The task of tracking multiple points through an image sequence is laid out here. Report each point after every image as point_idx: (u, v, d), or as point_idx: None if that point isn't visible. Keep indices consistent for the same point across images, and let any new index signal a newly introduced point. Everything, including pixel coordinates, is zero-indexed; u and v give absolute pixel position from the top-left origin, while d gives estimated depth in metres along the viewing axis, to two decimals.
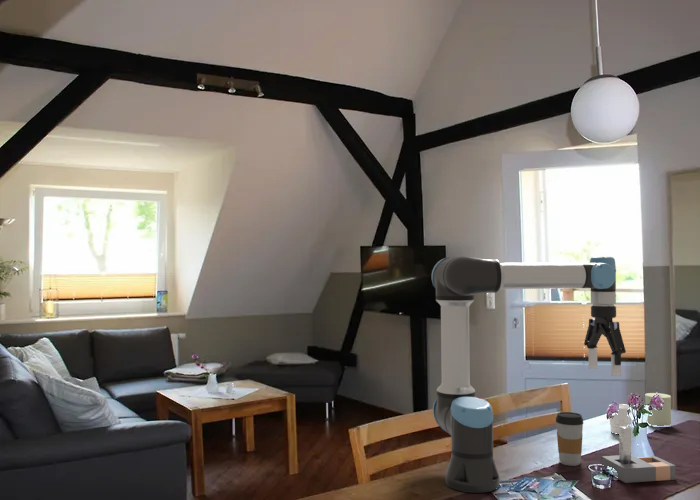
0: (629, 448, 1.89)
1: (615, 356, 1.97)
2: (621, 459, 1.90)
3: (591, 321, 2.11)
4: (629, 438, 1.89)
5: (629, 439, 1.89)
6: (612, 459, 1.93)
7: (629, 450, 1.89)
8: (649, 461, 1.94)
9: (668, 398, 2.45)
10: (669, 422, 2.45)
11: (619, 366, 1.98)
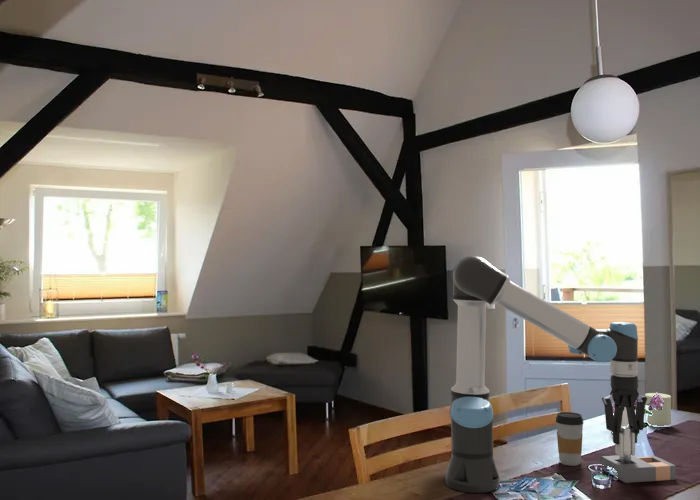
0: (629, 448, 1.89)
1: None
2: (621, 459, 1.90)
3: None
4: (629, 438, 1.89)
5: (629, 439, 1.89)
6: (612, 459, 1.93)
7: (629, 450, 1.89)
8: (649, 461, 1.94)
9: (668, 398, 2.45)
10: (669, 422, 2.45)
11: (619, 446, 1.89)
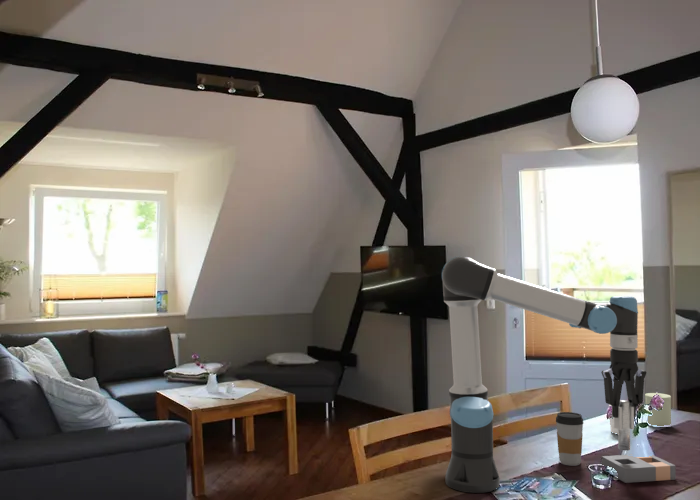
0: (628, 422, 1.89)
1: None
2: (620, 433, 1.90)
3: None
4: (628, 412, 1.89)
5: (628, 413, 1.89)
6: (612, 459, 1.93)
7: (628, 424, 1.89)
8: (649, 461, 1.94)
9: (668, 398, 2.45)
10: (669, 422, 2.45)
11: (618, 419, 1.89)
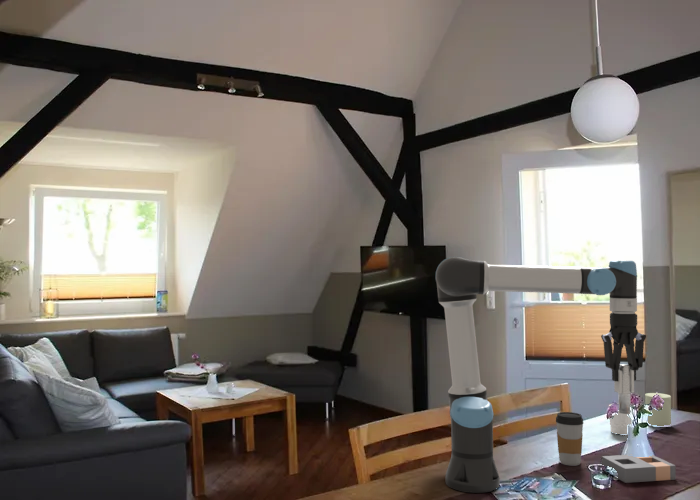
0: (628, 385, 1.89)
1: None
2: (620, 396, 1.90)
3: None
4: (628, 375, 1.89)
5: (628, 376, 1.89)
6: (612, 459, 1.93)
7: (628, 387, 1.89)
8: (649, 461, 1.94)
9: (668, 398, 2.45)
10: (669, 422, 2.45)
11: (618, 383, 1.89)
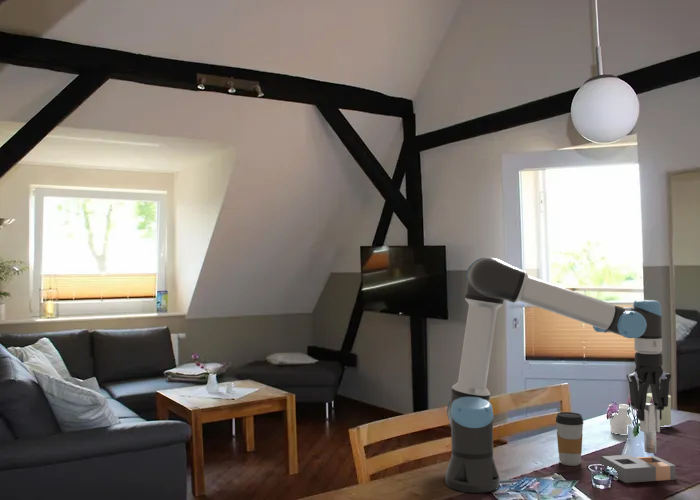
0: (654, 424, 1.90)
1: None
2: (646, 435, 1.91)
3: None
4: (654, 415, 1.90)
5: (654, 415, 1.90)
6: (612, 459, 1.93)
7: (654, 426, 1.90)
8: (649, 461, 1.94)
9: (668, 398, 2.45)
10: (669, 422, 2.45)
11: (644, 422, 1.90)
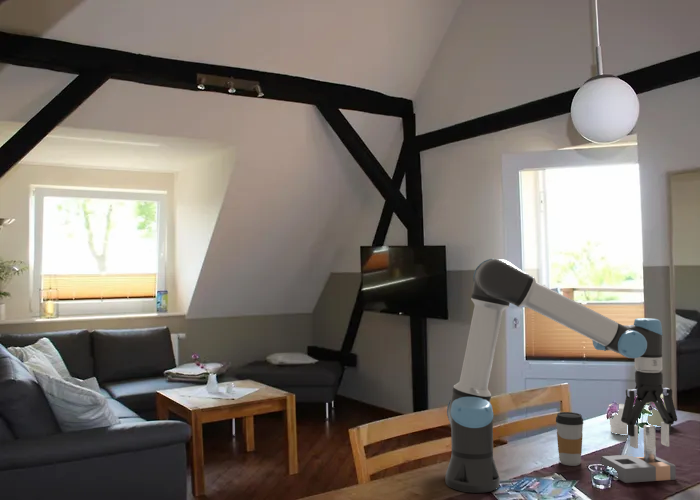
0: (654, 447, 1.90)
1: None
2: (646, 458, 1.91)
3: None
4: (654, 437, 1.90)
5: (654, 438, 1.90)
6: (612, 459, 1.93)
7: (654, 449, 1.90)
8: None
9: None
10: None
11: (634, 438, 1.90)
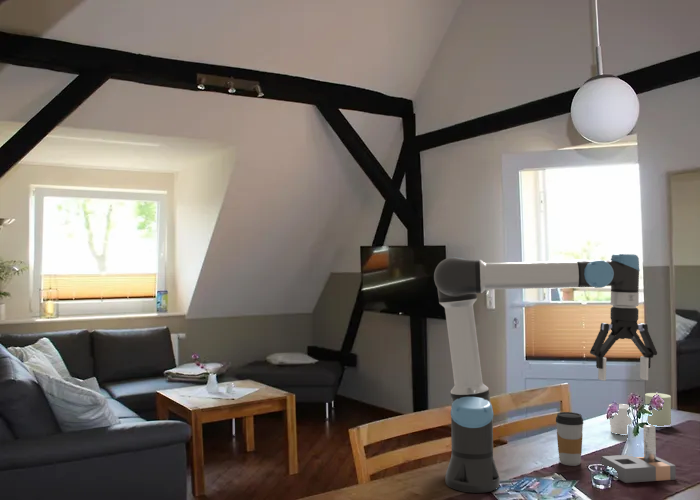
0: (654, 447, 1.90)
1: None
2: (646, 458, 1.91)
3: None
4: (654, 437, 1.90)
5: (654, 438, 1.90)
6: (612, 459, 1.93)
7: (654, 449, 1.90)
8: None
9: (668, 398, 2.45)
10: (669, 422, 2.45)
11: (602, 370, 1.86)
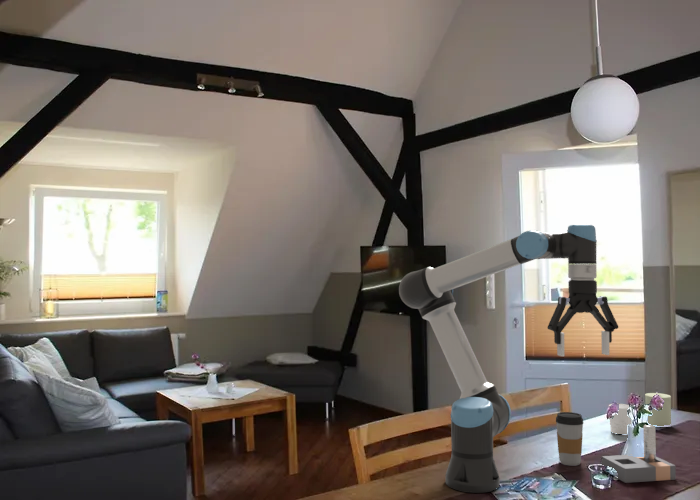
0: (654, 447, 1.90)
1: None
2: (646, 457, 1.91)
3: None
4: (654, 437, 1.90)
5: (654, 438, 1.90)
6: (612, 459, 1.93)
7: (654, 449, 1.90)
8: None
9: (668, 398, 2.45)
10: (669, 422, 2.45)
11: (561, 346, 1.79)
